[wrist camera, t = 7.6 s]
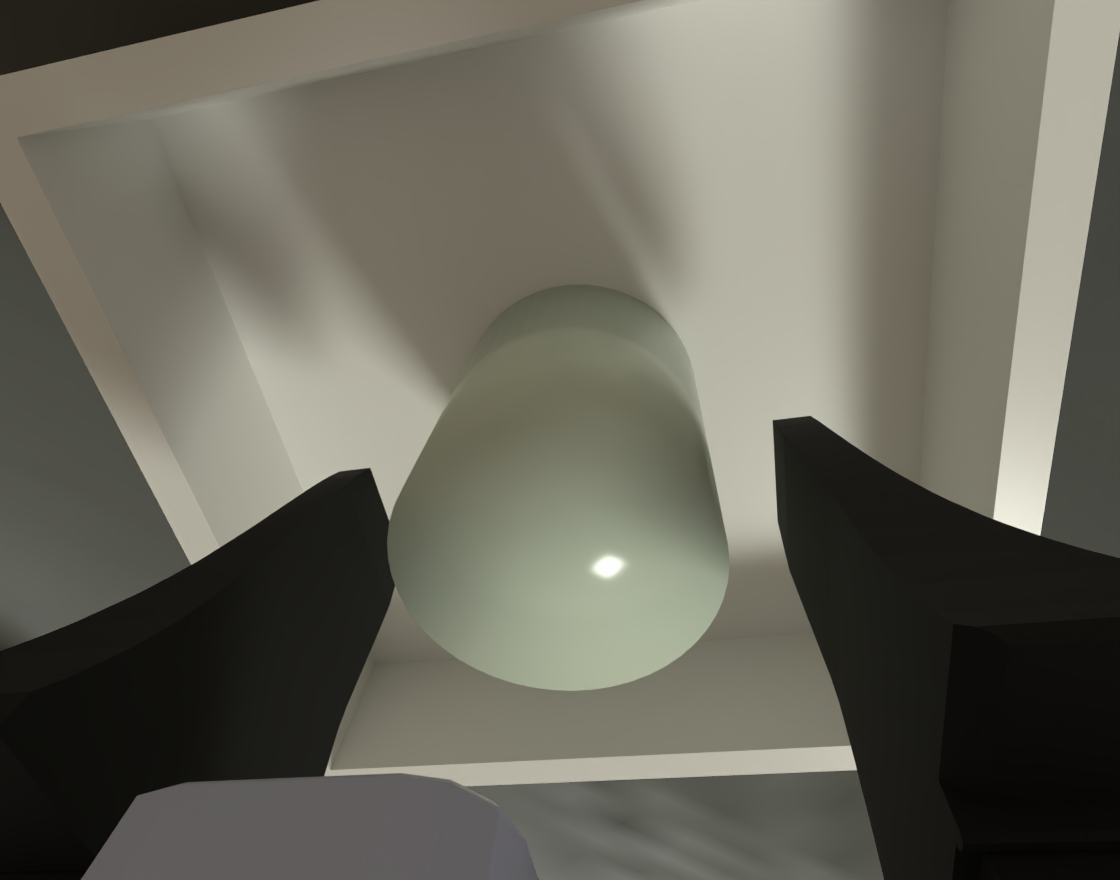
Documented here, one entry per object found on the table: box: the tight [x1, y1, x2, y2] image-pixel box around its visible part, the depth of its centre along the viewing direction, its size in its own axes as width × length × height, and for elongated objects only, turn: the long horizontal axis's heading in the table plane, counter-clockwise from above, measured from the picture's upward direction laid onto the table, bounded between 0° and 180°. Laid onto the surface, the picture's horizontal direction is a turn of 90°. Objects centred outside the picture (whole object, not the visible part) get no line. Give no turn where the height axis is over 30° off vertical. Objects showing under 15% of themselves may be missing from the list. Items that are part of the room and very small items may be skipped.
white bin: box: [0, 0, 1120, 786], centre depth 15 cm, size 16×16×4 cm
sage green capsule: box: [387, 285, 730, 691], centre depth 13 cm, size 5×5×6 cm
